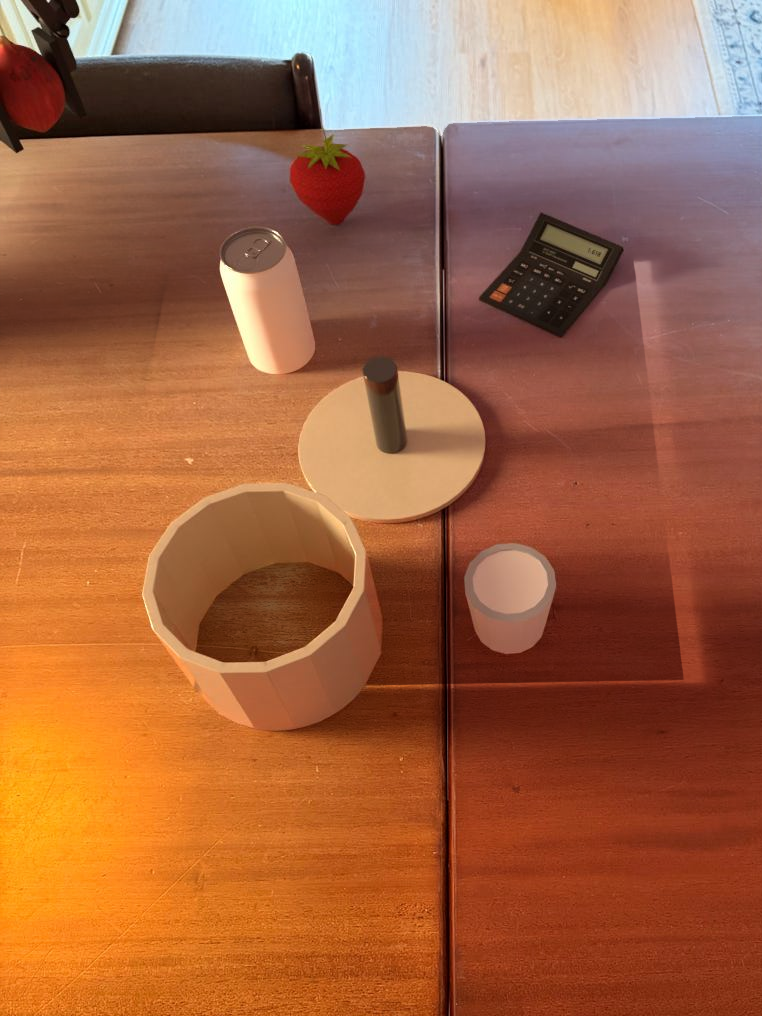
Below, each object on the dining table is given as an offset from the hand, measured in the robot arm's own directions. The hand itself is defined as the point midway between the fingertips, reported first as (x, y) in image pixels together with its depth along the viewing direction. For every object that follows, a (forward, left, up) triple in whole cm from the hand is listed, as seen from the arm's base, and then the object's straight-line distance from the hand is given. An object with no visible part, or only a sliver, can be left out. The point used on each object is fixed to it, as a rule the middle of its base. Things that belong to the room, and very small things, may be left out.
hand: (43, 126), depth 83 cm
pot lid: (+30, -25, -14) cm, 42 cm away
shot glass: (+40, -43, -15) cm, 61 cm away
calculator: (+45, -5, -15) cm, 48 cm away
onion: (0, 0, -1) cm, 1 cm away
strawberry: (+23, +5, -15) cm, 28 cm away
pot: (+22, -44, -15) cm, 52 cm away
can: (+19, -13, -15) cm, 28 cm away
